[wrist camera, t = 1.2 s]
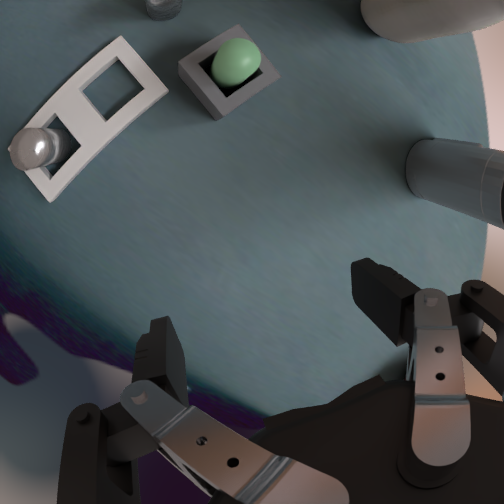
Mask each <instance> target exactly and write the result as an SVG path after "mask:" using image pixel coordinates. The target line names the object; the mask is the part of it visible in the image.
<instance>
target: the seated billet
mask: <svg viewBox="0 0 504 504" xmlns="http://www.w3.org/2000/svg"><path fill="white" fill-rule="evenodd" d="M71 146H72V143H71V138H70V136H69V134H68V133H67V132H66V131H65V130H62V129H52V128H24V129H22V130H20V131H19V132H18V133H17V134H16V135H15V136H14V138H13V140H12V142H11V146H10V157H11V160H12V163H13V164H14V166H15V167H16V168H18V169H20V170H23V171H27V170H31V169H35V168H39V167H43V166H47V165H51V164H55V163H59V162H62V161H63V160H65V159H66V158H67V156H68V155H69V153H70V151H71Z"/></svg>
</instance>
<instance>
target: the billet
mask: <svg viewBox="0 0 504 504" xmlns="http://www.w3.org/2000/svg"><path fill="white" fill-rule="evenodd" d="M145 4H146V9H147V13H148V15H149V16H150V17H151V18H152V19H154V20H158V21H166V20H169V19H172V18H174V17H175V16H176V15H177V14H178V13H179V12H180V10H181V6H182V0H145Z"/></svg>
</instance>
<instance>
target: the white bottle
mask: <svg viewBox="0 0 504 504" xmlns="http://www.w3.org/2000/svg"><path fill="white" fill-rule="evenodd" d="M361 13H362V16H363V18H364V20H365V22H366V24H367V25H368V26H369V27H370V29H372V30H373V31H374V32H375V33H376V34H377V35H379V36H381V37H383V38H385V39H388V40H390V41H394V42H398V43H414V42H419V41H424V40H428V39H433V38H437V37H443V36H449V35H455V34H461V33H467V32H472V31H476V30H480V29H484V28H487V27H489V26H491V25H494V24H496V23H499V22H501V21H503V20H504V0H361Z"/></svg>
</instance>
